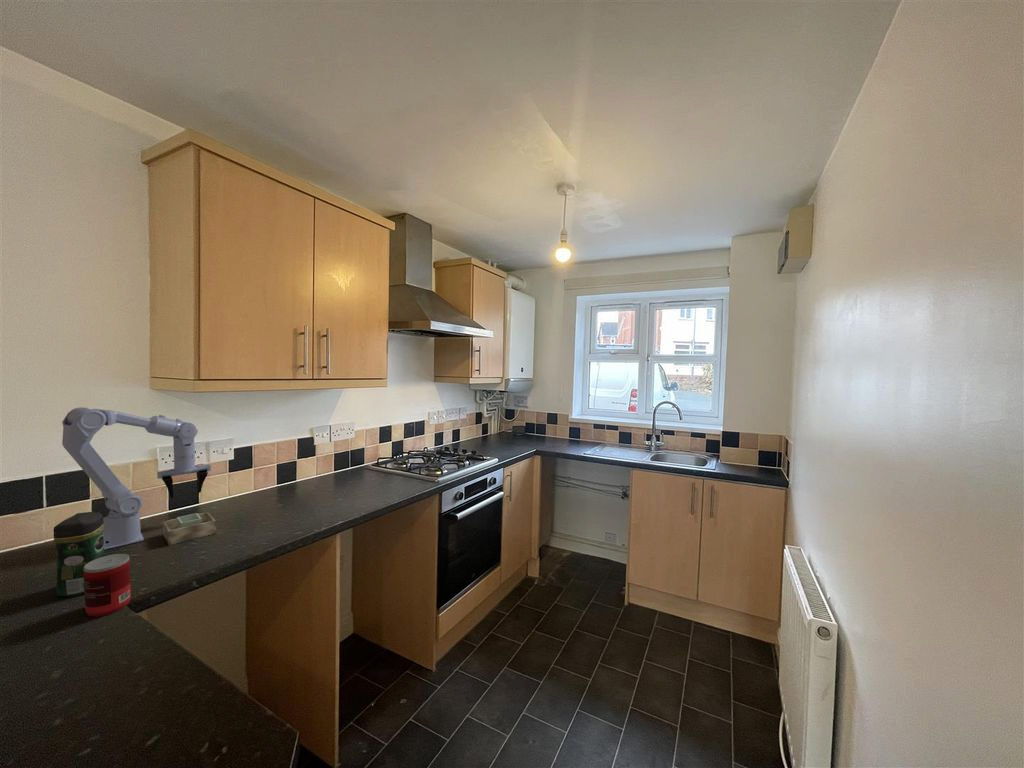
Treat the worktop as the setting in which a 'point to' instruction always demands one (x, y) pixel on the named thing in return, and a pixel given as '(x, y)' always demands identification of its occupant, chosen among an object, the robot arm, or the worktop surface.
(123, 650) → the worktop surface
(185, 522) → the box
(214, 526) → the box
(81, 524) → the coffee jar
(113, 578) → the canned food
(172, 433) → the robot arm
